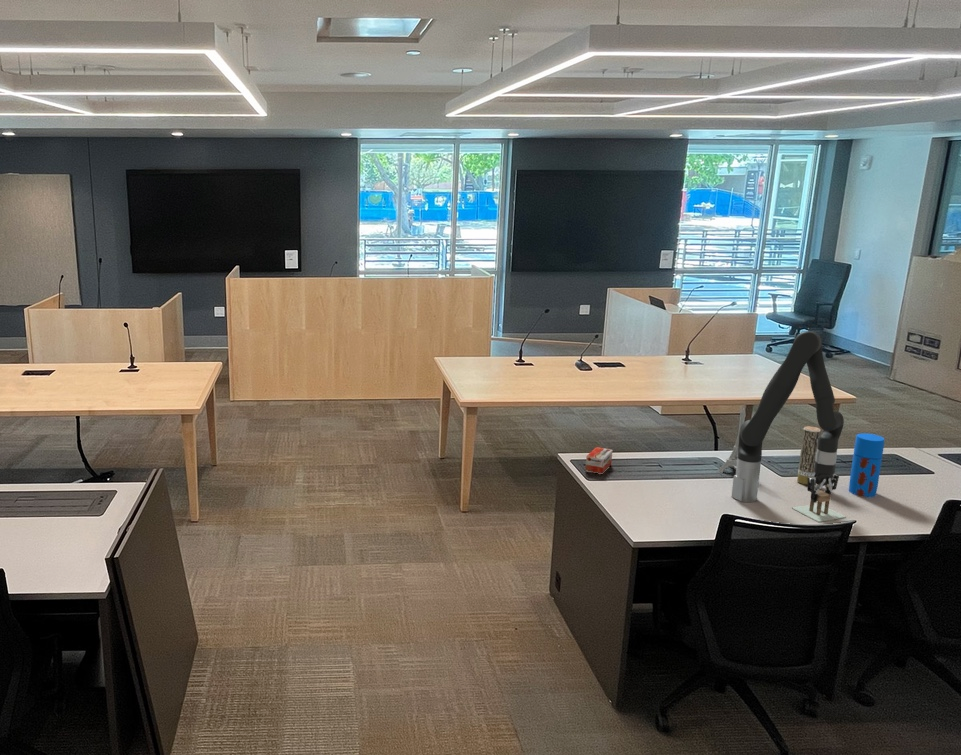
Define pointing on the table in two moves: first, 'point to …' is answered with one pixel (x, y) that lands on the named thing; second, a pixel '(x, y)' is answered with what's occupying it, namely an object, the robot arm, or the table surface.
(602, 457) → the medicine box
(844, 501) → the table surface
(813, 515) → the pad
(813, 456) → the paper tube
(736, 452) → the eiffel tower
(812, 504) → the stool
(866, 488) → the thermos
